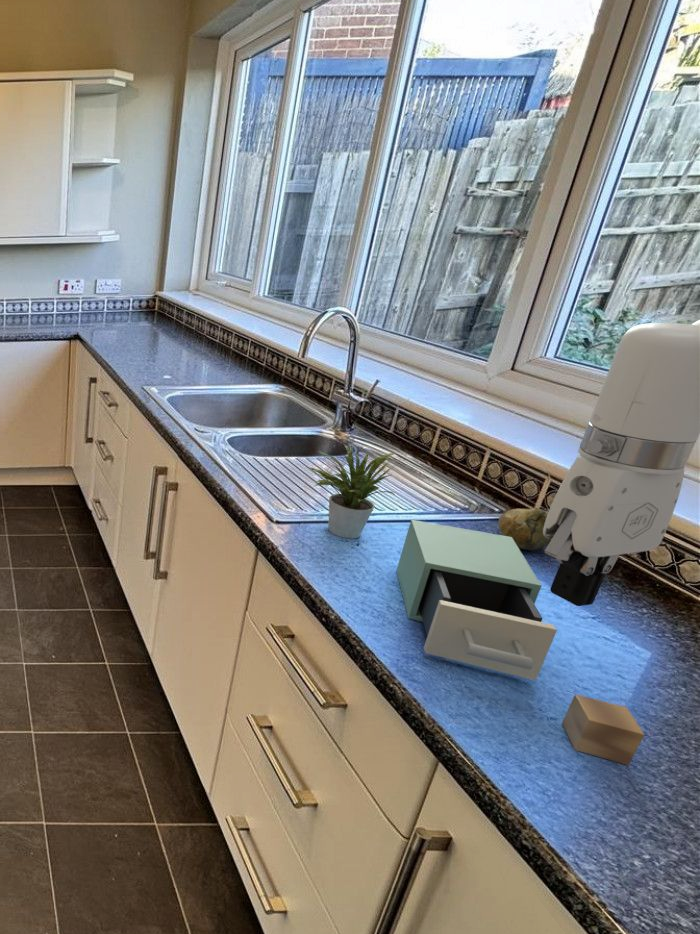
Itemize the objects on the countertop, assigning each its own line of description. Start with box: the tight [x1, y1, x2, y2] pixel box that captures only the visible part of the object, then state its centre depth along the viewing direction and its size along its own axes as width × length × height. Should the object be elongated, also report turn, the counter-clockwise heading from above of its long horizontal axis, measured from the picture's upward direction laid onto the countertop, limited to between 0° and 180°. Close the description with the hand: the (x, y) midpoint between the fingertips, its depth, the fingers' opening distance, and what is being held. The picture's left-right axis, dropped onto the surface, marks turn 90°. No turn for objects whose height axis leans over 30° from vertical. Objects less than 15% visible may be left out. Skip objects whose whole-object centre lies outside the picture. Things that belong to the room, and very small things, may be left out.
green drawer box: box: [396, 519, 543, 623], centre depth 92 cm, size 15×13×10 cm
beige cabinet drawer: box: [419, 569, 558, 682], centre depth 82 cm, size 18×11×8 cm, turn 152°
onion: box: [497, 506, 551, 551], centre depth 108 cm, size 8×8×8 cm
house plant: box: [309, 444, 396, 540], centre depth 113 cm, size 14×14×16 cm
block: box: [561, 693, 645, 766], centre depth 68 cm, size 4×4×4 cm
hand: (570, 598), depth 69 cm, fingers closed
